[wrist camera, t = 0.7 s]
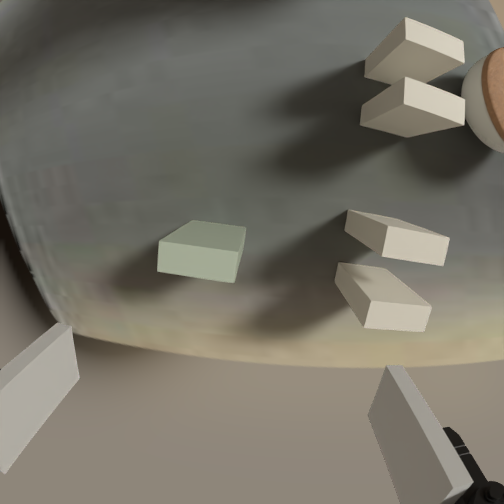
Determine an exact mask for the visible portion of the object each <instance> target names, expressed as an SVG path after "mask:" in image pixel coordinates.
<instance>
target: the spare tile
mask: <svg viewBox="0 0 504 504" xmlns="http://www.w3.org/2000/svg"><path fill="white" fill-rule="evenodd" d="M245 233H246V227H241V226H234V225H227V224H219V223H212V222H204V221H196V220H192V221H190V222H188V223H187V224H185V225H184V226H182V227H180V228H179V229H177V230H176V231H174V232H172V233H171V234H169V235H168V236H166V237H164V238H163V239H161V240H160V241H159V249H158V265H157V272H164V273H170V274H176V275H183V276H189V277H196V278H202V279H209V280H216V281H222V282H229V283H234V282H235V279H236V275H237V271H238V267H239V263H240V260H241V256H242V252H243V248H244V241H245Z"/></svg>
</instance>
